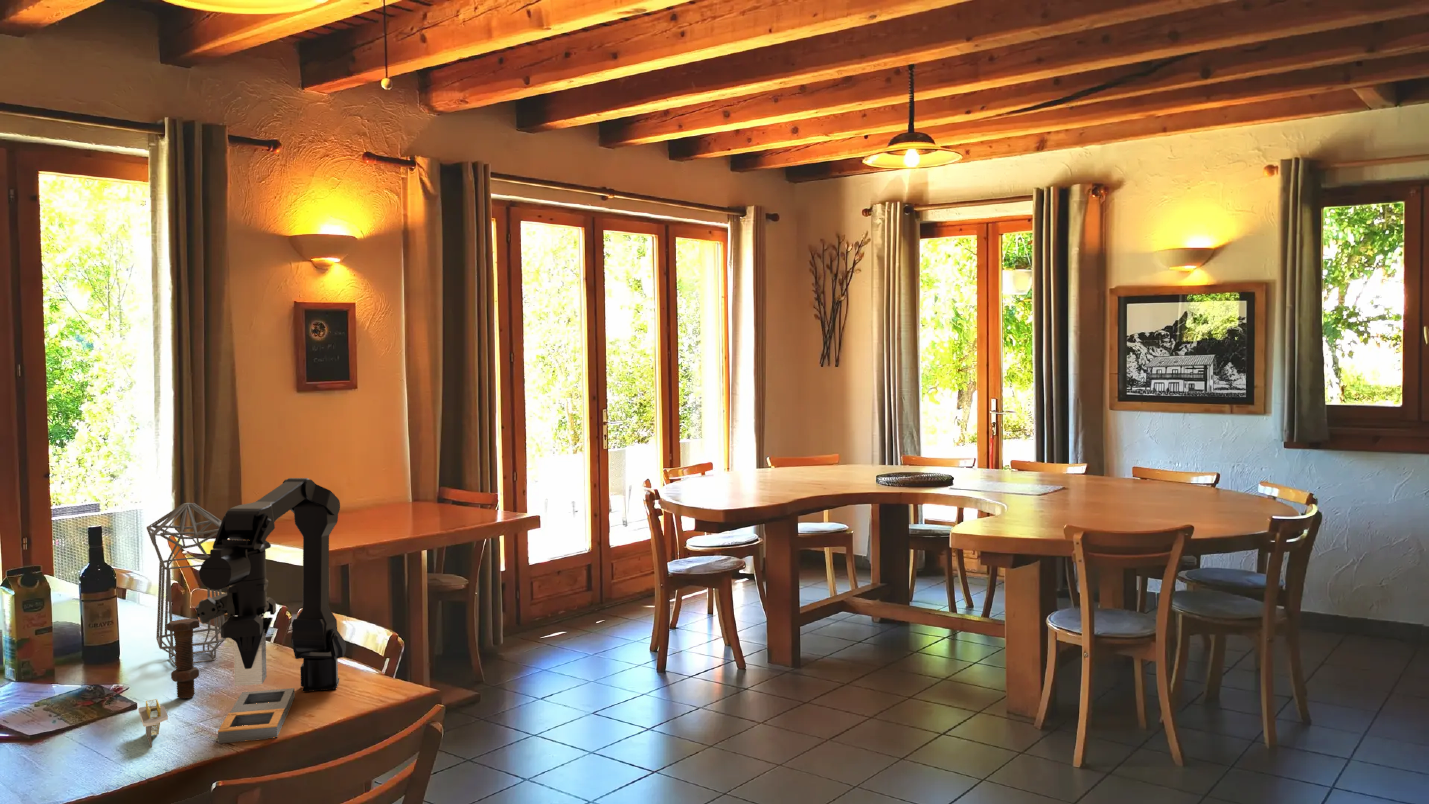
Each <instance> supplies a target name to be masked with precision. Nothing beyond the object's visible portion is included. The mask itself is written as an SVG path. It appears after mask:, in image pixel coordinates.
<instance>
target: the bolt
mask: <svg viewBox="0 0 1429 804" xmlns="http://www.w3.org/2000/svg"><path fill="white" fill-rule="evenodd" d="M199 628H200V619H197V618H182V619H175V620H172V621H171V622H170V621H169V622H168V624H167V632H170V631H172V632H173V633H174V636H173V640H174V646H175V649H176V650H175V651H176V652H175V651H174V653H175V654H176V655H175V656H176V657H175V656H174V659H175V658H176V661H177V662H176V666H175V669H174V670H172V671H171V672H170V677H171V678H170V679H171V680H172V682H176V697H177V698H178V699H190V698H193V697H194V696H195V695H196V693H195V679H197V678H199V676H200V670H199V668H198V667H197V666H195V665H194V664H193V663H194V662H195V661H194V654H193V652H194V646H193V643H194V633H193V631H194V630H195V629H199Z"/></svg>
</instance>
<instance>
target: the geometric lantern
mask: <svg viewBox="0 0 1429 804" xmlns="http://www.w3.org/2000/svg"><path fill="white" fill-rule="evenodd" d="M192 510H194V511H195V512H196V513H197V514H199V515H201V516H202V517H204V518H205V519H206V520H205V521H200V522H196V520H195V517H194V514H193V511H192ZM187 513H188V515H189V520H190V523H191V525H190V526H185V524H186V519H187V518H186V517H187ZM181 514H182V516H181ZM180 516H181V519H180V523H179V525H173V523H174V522H176V520H177V519H178V518H179V517H180ZM221 522H222V520H221V519H219V518H218V517H216V516H215V515H213V514H212V513H211V512H209V511H207V510H205V509H204V508H202V506H199V505H198V504H196V503H195V502H193V503H192V502H186V503H182V504H181V505H179V506H177V507H176V508H174V509H173V510H171V511H170V512H168V513H166V514H165V515H163V516H161V517H160V518H159V519H157V520H155V521H154V522H152V523H151V524H150V525H148V526H146V530H147V533H148V536H149V539H150V541H151V543H152V545H153V547H154V549H155V552H156V555H157V558H158V561H159V568H158V569H159V571H158V589H157V590H158V593H157V595H158V596H157V614H156V615H157V616H156V617H157V618H156V619H157V620H156V642H157V644H158V645H157V646H158V648H159V649H160V650H163V651H165V652H166V653H167V654H168V658H169V660H170V661H171V662H172V664H173V665H174V666H175V667H176V662H177V661H176V658H175V657H176V656H175V655H176V654H175V652H176V651H175V650H176V649H175V645H174V632H172V631H169V633H168V630H167V624H168V623H169V622H171V621H173V608H172V607H173V606H172V604H173V603H172V582H171V581H172V578H171V577H172V576H171V570H175V569H186V568H196V567H197V568H198V567H201V565H202V564H196V565H195V564H193V565H183V566H182V565H181V566H173V567H172V566H171V567H170V565H171V564H172V563H173V562H175V561H187V560H195V559H207V558H209V557H210V555H208V554H207V551H205V549H204V547H203V546H202V544H203V543H205V542H207V541H208V540H210V539H212V538H213V537H216V536H217V533H218V530H219V528H220V525H221ZM169 523H170V524H169ZM167 524H169V525H167ZM212 524H214V525H215V526H216V527H218V528H215V529H210V530H206V529H207V528H208V527H209V526H210V525H212ZM201 525H204V526H203V527H202V528H201V529H200V530H198V531H197V528H198V526H201ZM168 529H180V531H179V532H171V531H168ZM189 529H191V530H192V529H193V530H192V531H184V530H189ZM211 533H212V534H211ZM206 534H210V535H209V536H207V537H206V538H204V539H202V540H200V539H199V536H201V535H206ZM184 535H185V536H184ZM186 535H193V536H186ZM157 536H160V537H161V538H162V539H163V538H164V539H165V540H167V541H168V542H170V543H172V544H173V545H174V547H173V548H172V550H171V552H170V554H169V557H168V559H166V560H165V559H163V557H162V554H161V551H160V549H159V546H158V544H157V539H156V538H157ZM168 536H172V537H174V538H177V540H173V539H172V538H171V537H168ZM195 539H196V540H195ZM185 540H192V541H193V542H194V544H188V545H186V542H185ZM199 540H200V541H199ZM180 541H181V542H182V544H180ZM177 547H179V549H178V550H177V552H176V553H175V551H176V549H177ZM193 547H198V549H199V550H200V552H202V553H203V556H193V557H185V558H176V557H177V556H178V555H179V553H180V552H181V550H182V549H190V548H193ZM174 553H175V554H174ZM173 555H174V556H173ZM172 557H173V558H172ZM165 563H166V564H165ZM165 576H166V577H165ZM206 589H207V592H206V593H207V598H208V597H211V598H213V597H216V596H218V595H221V594H223V592H222V589H219V590H212V589H209V588H207V587H206ZM207 598H206V599H207ZM164 601H165V602H164ZM164 603H165V605H164ZM164 607H165V608H164ZM164 609H165V610H164ZM164 612H165V613H164ZM168 616H169V617H168ZM168 618H169V622H168ZM224 622H225V614H224V615H221V616H219V617H216V618H214V619H213V624H214V628H213V627H211V620H210V621H209V622H207V628H201V629H196V630H195V629H193V634H194V633H195V634H196V633H202V632H203V633H204V632H207V633H206V636H205V639H204V642H203V641H202V642H195V643H194V642H193V647H197V646H202V650H198V651H193V655H198V654H206V653H209V654H210V655H211V659H204V660H197V661H193V662H194V663H193V664H201V663H206V662H207V663H208V662H215V660H217V649H218V648H219V647H220V646H221V645H222V644H223V643H224V642H225V641H226V639H227V638H220V639H219V634H220V635H221V626H222V625H223V623H224ZM163 624H164V625H163ZM163 626H164V627H163ZM163 628H164V634H163ZM212 631H213V632H214V636H213V637H212V638H211V639H210V640H209V641H208V639H209V636H210V635H209V634H210V632H212ZM164 638H165V640H166V641H167V643H168V644H166V643H165V641H163V639H164ZM169 638H170V640H169ZM214 644H215V645H214ZM205 645H207V650H205V649H206V648H205ZM213 645H214V646H213ZM210 648H211V649H210ZM173 658H174V659H173Z"/></svg>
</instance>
